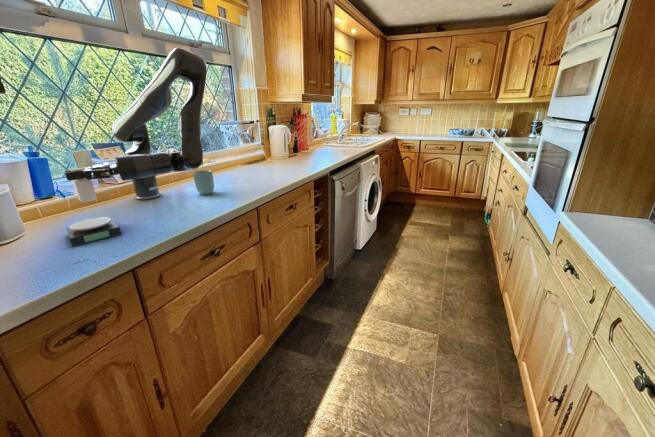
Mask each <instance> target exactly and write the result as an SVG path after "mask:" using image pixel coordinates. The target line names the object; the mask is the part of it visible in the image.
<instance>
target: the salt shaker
mask: <svg viewBox="0 0 655 437" xmlns="http://www.w3.org/2000/svg"><path fill="white" fill-rule="evenodd" d="M70 170H71V172H75V171H82V170H85V167H76V168H72V169H70ZM71 181H72V182H71V183H72V186H73V188H74V191H75V193H76V196H77V200H79V201H80V202H81V203H88V202H92V201H96V200H97V199H98V197H97V193H96V191H95V188H94V185H93V181H92V179H91V180H87V179H77V180H71Z"/></svg>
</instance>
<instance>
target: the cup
mask: <svg viewBox="0 0 655 437" xmlns="http://www.w3.org/2000/svg"><path fill="white" fill-rule="evenodd" d="M192 176H193V181H194V186H195V188H196V191H197V193H198V194H199V195H203V196H204V195H205V196H206V195H210V194H212V193H214V191H215V180H214V173H213V170H211V169H199V170H195V171H193V172H192Z"/></svg>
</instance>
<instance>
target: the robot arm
mask: <svg viewBox="0 0 655 437" xmlns="http://www.w3.org/2000/svg"><path fill="white" fill-rule="evenodd" d="M207 69H208V68H207V62H206V60H205V59H204V58H203V57H201V56H199V55H197V54H195V53H194V52H191V51H190V50H188V49H185V48H182V47H176V48H173V50H171V51H170V52H169V54H168V55H167V57H166V59H165V60H164V62H163V64H162V65H161V67H160V68H159V70H158V72H157V73H156V75H155V76H154V77H153V78H152V80H151V81H150V82H149V84H148V85H147V86H145V88H144V89H143V91H141V93H140V94H139V96H138V97H137V98H136V100H134V101H133V103H132V104H130V106H129V108H127V110H126V111H124V113H123V114H121V115H120V116H119V117H117V118H116V119H115V121H114V122H113V124H112V133H113V136H114V137H115V139H116V140H117V141H119V142H123V143H133V144H132V147H131V148H129V149H127V150H126V151H125V153H124V155H118V156H115V157H114V158H115V159H114V160H115V164H110V163H109V162H104V163H101V164H94V165H89V166H85V167H84V168H85V170H82V171H75V172H71V169H69V170H66V171H65V174H64V176H65V178H66V181H68V182H69V181H74V180H77V179H87V180H91V181H92V180H100V179H101V180H102V179H111V178H114V176H116V175H119V177H120V179H121V181H123V182H126V181H131V183H132V187H133V189H134V195H135V199H136V200H139V201H141V200H143V201H144V200H151V199H155V198H158V197H160V196H161V192H160V189H159V185H158V184H159V183H158V180H157V176H161V175H165V174H170V173H178V172H188V171H194V170H197V169H199V168H200V167H201V166H202V164H203V161H204V152H203V145H202V140H201V136H202V122H201V120H202V119H201V118H202V107H203V100H204V95H205V89H206V88H205V87H206V82H207V81H206V80H207V73H208V72H207V71H208V70H207ZM177 79H181V80H183V81H186V82H189V83H190V93H189V95H188V97H187V100H186V102H184V104H183V106H182V108H181V109H180V111H179V113H178V122H177V124H178V139H179V140H180V151H174V152H164V151H163V152H162V151H161V152H153V153H151V151H152V147H151V141H150V136H149V135H150V134H149V131H148V127H147V123H149V122H151V121H154V120H156V119H157V118H159V117H160V116H162V115H163V114H164V113H165V112H166V111H167V110H168V109H169V108H170V106H171V105H172V100H173V94H172V88H171V87H172V85H173V83H174V82H175V81H176V80H177Z"/></svg>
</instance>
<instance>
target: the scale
mask: <svg viewBox="0 0 655 437" xmlns="http://www.w3.org/2000/svg"><path fill="white" fill-rule="evenodd" d="M65 230H66V232H67V236H68V238H69V241H70V243H71V246H72V247H77V246H81V245H84V244H89V243H93V242H97V241H101V240H104V239H108V238H112V237H117V236H119V235H122V232H121V228H120V226H119V225H118V224H117V222H116V220H114V219H113V217H108V216H98V217H91V218H87V219H83V220H80V221H77V222H74V223H73V224H71V225H69V227H68V226H67V227H66V229H65Z"/></svg>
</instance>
